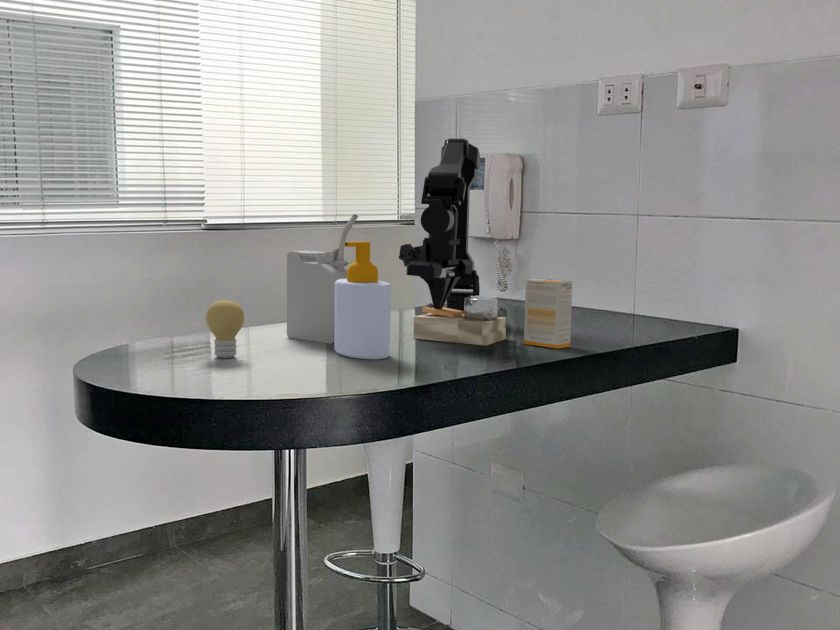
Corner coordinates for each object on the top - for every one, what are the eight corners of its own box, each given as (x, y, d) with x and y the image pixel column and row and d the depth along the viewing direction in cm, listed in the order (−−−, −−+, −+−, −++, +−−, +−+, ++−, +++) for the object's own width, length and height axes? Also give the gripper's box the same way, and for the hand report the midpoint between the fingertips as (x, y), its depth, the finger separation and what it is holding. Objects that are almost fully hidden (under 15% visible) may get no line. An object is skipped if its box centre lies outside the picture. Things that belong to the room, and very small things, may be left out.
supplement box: (571, 347, 174) (574, 280, 172) (557, 349, 171) (560, 281, 169) (536, 341, 180) (539, 277, 178) (522, 344, 176) (524, 278, 174)
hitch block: (435, 332, 190) (435, 311, 189) (505, 339, 182) (506, 317, 182) (413, 338, 181) (413, 316, 180) (486, 345, 173) (486, 322, 173)
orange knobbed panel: (463, 315, 183) (464, 307, 183) (452, 317, 179) (453, 309, 179) (431, 308, 187) (432, 301, 186) (420, 311, 182) (421, 303, 182)
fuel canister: (360, 342, 174) (361, 214, 171) (343, 345, 170) (344, 214, 167) (304, 334, 183) (304, 212, 180) (286, 337, 179) (286, 212, 176)
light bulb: (225, 361, 151) (225, 303, 149) (198, 357, 154) (198, 300, 153) (251, 356, 156) (251, 300, 155) (225, 353, 159) (224, 297, 158)
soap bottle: (323, 351, 164) (323, 240, 161) (360, 347, 169) (361, 239, 166) (363, 362, 153) (364, 243, 151) (401, 357, 158) (403, 243, 156)
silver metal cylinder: (471, 334, 184) (472, 296, 183) (501, 337, 181) (502, 298, 180) (458, 338, 178) (459, 299, 177) (488, 341, 175) (489, 301, 174)
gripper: (428, 230, 193) (424, 302, 195) (385, 231, 176) (381, 309, 178) (475, 234, 188) (470, 307, 190) (435, 234, 171) (430, 315, 173)
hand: (437, 309), depth 183 cm, fingers closed, pressing on orange knobbed panel
